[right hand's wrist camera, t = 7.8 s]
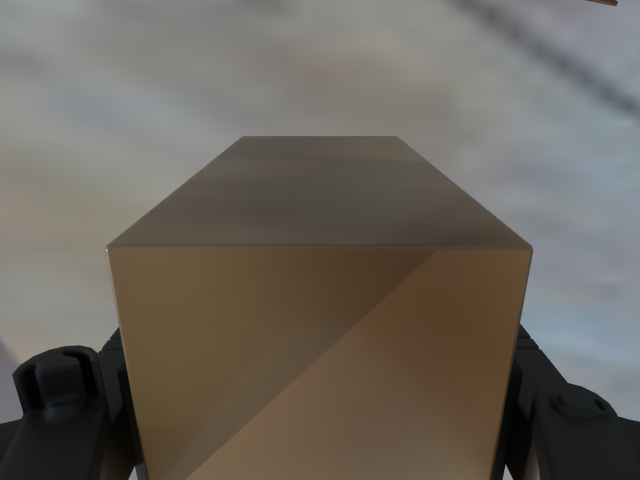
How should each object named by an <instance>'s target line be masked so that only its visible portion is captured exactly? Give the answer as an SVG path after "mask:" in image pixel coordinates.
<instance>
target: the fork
mask: <svg viewBox="0 0 640 480" xmlns="http://www.w3.org/2000/svg"><path fill="white" fill-rule="evenodd" d="M587 1H592V2H597V3H601V4H606V5H612V6H616V5H617V3H618V2H617V1H616V0H587Z"/></svg>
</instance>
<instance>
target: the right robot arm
mask: <svg viewBox="0 0 640 480" xmlns="http://www.w3.org/2000/svg"><path fill="white" fill-rule="evenodd" d="M12 376H13V379H14V383H15V386H16V389H17V393H18V396H19V400H20V403H21V406H22V409H23V413H24V414H23V416H22V419H19V420H15V421H11V422H7V423H2V424H0V480H128V479H129V477H130V475H131V472H132V470H133V468H134V466H135V468H136V472H137V478H138V480H147V475H146V470H145V464H144V459H143V453H142V448H141V443H140V437H139V432H138V426H137V421H136V416H135V410H134V405H133V399H132V394H131V389H130V383H129V378H128V372H127V367H126V361H125V356H124V351H123V345H122V340H121V334H120V329H119V327H118V329H117V330H116V331H115V333H114V334H113V335H112V336H111V338H110V340H108V341H107V343H106V344H105V345H104V346H103V348H102V351H99V353H97V352H96V351H94V350H93V349H92V348H89V347H85V346H80V345H79V346H64V347H60V348H55V349H51V350H48V351H46V352H43V353H41V354H38V355H36V356H34V357H32V358H30V359H29V360H27V361H26V362H24V363H23V364H21V365H20V366H19V367H18V368H17V369H16V371H15V372H14V373H13V374H12ZM505 464H506V465H507V468H508V470H509V472H510V474H511V476H512V478H513V480H640V422H638V421H634V420H629V419H625V418H622V417H618V416H617V414H616V412H615V411H614V409H613V408H612V407H611V405H610V404H609V403H608V402H607V401H605V400H604V399H603V398H601V397H600V396H599V395H597V394H596V393H594V392H592V391H590V390H588V389H585V388H583V387H581V386H577V385H574V384H570V383H567V381H566V380H565V379H564V378H563V376H562V375H561V374H560V373H559V371H558V370H557V369H556V368H555V366H554V365H553V364H552V363H551V361H550V360H549V359H548V358H547V356H546V355H545V354H544V353H543V351H542V350H541V349H539V346H538V345H537V344H536V343H535V341H534V340H533V339H530V335H529V334H528V333H527V332H526V330H525V329H524V328H523V327H522V325H521V324H520V325H519V330H518V336H517V341H516V347H515V352H514V358H513V363H512V369H511V374H510V379H509V385H508V390H507V396H506V401H505V407H504V412H503V418H502V423H501V429H500V434H499V440H498V445H497V450H496V456H495V461H494V467H493V472H492V478H491V480H503V474H504V469H505Z"/></svg>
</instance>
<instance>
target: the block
mask: <svg viewBox="0 0 640 480" xmlns="http://www.w3.org/2000/svg"><path fill="white" fill-rule="evenodd" d="M105 253H106V259H107V264H108V270H109V275H110V280H111V286H112V291H113V297H114V302H115V307H116V313H117V318H118V324H119V329H120V334H121V340H122V345H123V351H124V356H125V361H126V367H127V372H128V378H129V383H130V389H131V394H132V399H133V405H134V410H135V416H136V421H137V426H138V432H139V437H140V443H141V448H142V453H143V459H144V464H145V470H146V475H147V480H491V478H492V472H493V467H494V461H495V456H496V450H497V445H498V440H499V434H500V429H501V423H502V418H503V412H504V407H505V401H506V396H507V390H508V385H509V379H510V374H511V369H512V363H513V358H514V352H515V347H516V341H517V336H518V330H519V325H520V319H521V314H522V309H523V303H524V298H525V292H526V287H527V281H528V276H529V270H530V265H531V259H532V254H533V248H532V246H531V245H530V244H529V243H528V242H527V241H525V240H524V239H523V238H522V237H520V236H519V235H518V234H517V233H515V232H514V231H513V230H512V229H510V228H509V227H508V226H507V225H506V224H504V223H503V222H502V221H501V220H499V219H498V218H497V217H496V216H494V215H493V214H492V213H491V212H489V211H488V210H487V209H486V208H485V207H483V206H482V205H481V204H480V203H478V202H477V201H476V200H475V199H473V198H472V197H471V196H470V195H469V194H467V193H466V192H465V191H464V190H462V189H461V188H460V187H459V186H457V185H456V184H455V183H454V182H452V181H451V180H450V179H449V178H448V177H446V176H445V175H444V174H443V173H441V172H440V171H439V170H438V169H436V168H435V167H434V166H433V165H431V164H430V163H429V162H428V161H427V160H425V159H424V158H423V157H422V156H420V155H419V154H418V153H417V152H415V151H414V150H413V149H412V148H410V147H409V146H408V145H407V144H406V143H404V142H403V141H402V140H401V139H399V138H398V137H396V136H243V137H241V138H240V139H239V140H237V141H236V142H235V143H234V144H232V145H231V146H230V147H229V148H227V149H226V150H225V151H224V152H222V153H221V154H220V155H219V156H218V157H216V158H215V159H214V160H213V161H211V162H210V163H209V164H208V165H206V166H205V167H204V168H203V169H201V170H200V171H199V172H198V173H196V174H195V175H194V176H193V177H191V178H190V179H189V180H188V181H186V182H185V183H184V184H183V185H181V186H180V187H179V188H178V189H176V190H175V191H174V192H173V193H171V194H170V195H169V196H168V197H166V198H165V199H164V200H163V201H161V202H160V203H159V204H158V205H156V206H155V207H154V208H153V209H152V210H150V211H149V212H148V213H147V214H145V215H144V216H143V217H142V218H140V219H139V220H138V221H137V222H135V223H134V224H133V225H132V226H130V227H129V228H128V229H127V230H125V231H124V232H123V233H122V234H120V235H119V236H118V237H117V238H115V239H114V240H113V241H112V242H110V243H109V244H108V245H107V246H106V249H105Z"/></svg>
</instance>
